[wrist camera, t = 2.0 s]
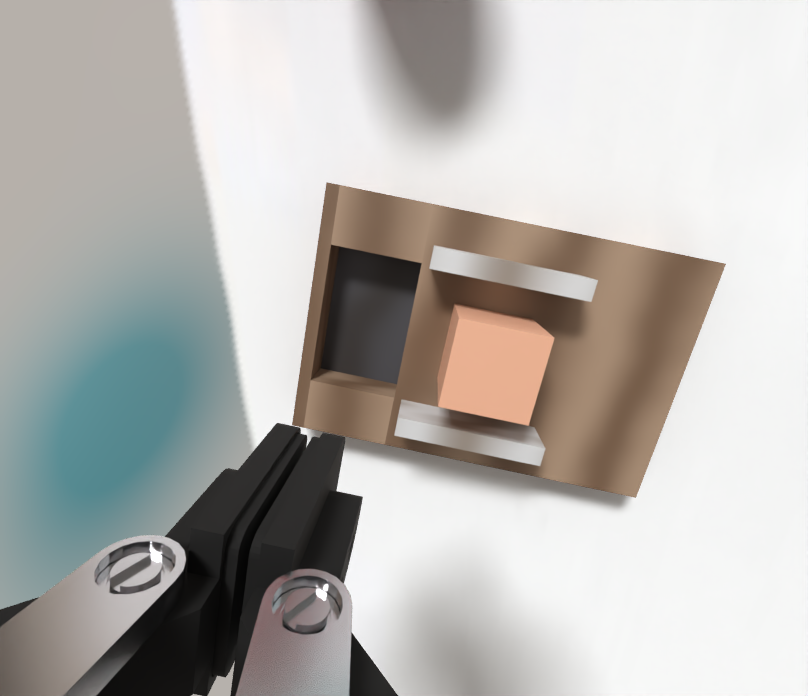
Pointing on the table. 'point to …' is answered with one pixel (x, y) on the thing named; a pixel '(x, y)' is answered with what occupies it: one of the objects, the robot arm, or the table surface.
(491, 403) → the block
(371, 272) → the board
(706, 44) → the table surface
